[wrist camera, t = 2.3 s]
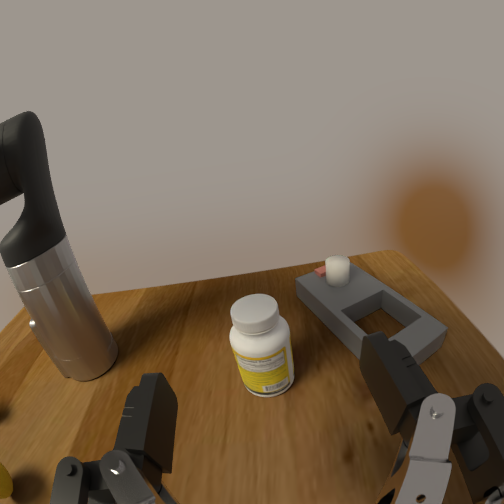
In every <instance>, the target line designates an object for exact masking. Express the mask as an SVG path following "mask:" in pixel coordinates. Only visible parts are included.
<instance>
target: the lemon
mask: <svg viewBox="0 0 504 504" xmlns="http://www.w3.org/2000/svg"><path fill="white" fill-rule="evenodd" d="M12 492H13V482H12V479H11V477H10V474H9V473H8V471H7V470H6V468H5V467H4V466H3V465H2V464H1V463H0V499H3V498H7V497H9V496H10V495H11V494H12Z"/></svg>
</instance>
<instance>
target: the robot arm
mask: <svg viewBox="0 0 504 504" xmlns="http://www.w3.org/2000/svg"><path fill="white" fill-rule="evenodd" d="M23 193H24V198H25V206H24V209H23V212H22V214H21V216H20V218H19V219H18V221H17V223H16V224H15V225H14V227H13V228H12V229H11V230H10V231H9V233H8V234H7V235H6V236H5V237H4V238H3V240H2V241H1V243H0V253H1V256H2V259H3V261H4V263H5V266H6V268H7V270H8V272H9V275H10V277H11V279H12V281H13V284H14V286H15V288H16V290H17V292H18V294H19V296H20V298H21V300H22V302H23V304H24V306H25V307H26V309H27V311H28V313H29V315H30V317H31V318H32V319H31V320H30V323H29V325H30V328H31V329H32V331H33V333H34V334H35V336H36V337H37V339H38V340H39V342H40V344H41V345H42V347H43V348H44V350H45V351H46V353H47V354H48V355H49V357H50V358H51V360H52V361H53V362H54V364H55V365H56V367H57V368H58V369H59V371H60V372H61V373H62V375H63V376H64V377H71V378H73V379H75V380H78V381H87V380H92V379H94V378H97V377H99V376H100V375H102V374H103V373H105V372H106V371H107V370H108V369H109V368H110V367H111V366H112V365H113V363H114V362H115V360H116V358H117V355H118V346H117V344H116V342H115V340H114V338H113V336H112V334H111V333H110V331H109V329H108V328H107V326H106V324H105V322H104V320H103V318H102V316H101V314H100V312H99V310H98V308H97V306H96V304H95V302H94V300H93V298H92V296H91V294H90V292H89V290H88V288H87V285H86V283H85V281H84V278H83V276H82V274H81V272H80V269H79V267H78V264H77V262H76V259H75V257H74V255H73V252H72V249H71V246H70V244H69V241H68V238H67V235H66V232H65V229H64V226H63V223H62V220H61V217H60V213H59V209H58V206H57V202H56V199H55V195H54V191H53V187H52V182H51V177H50V171H49V165H48V159H47V151H46V145H45V138H44V134H43V129H42V126H41V123H40V121H39V119H38V117H37V116H36V115H35V114H34V113H33V112H31V111H27V112H23V113H21V114H18V115H16V116H15V117H12V118H10V119H9V120H6V121H5V122H3V123H1V124H0V205H1V204H3V203H5V202H7V201H9V200H11V199H13V198H15V197H17V196H19V195H21V194H23ZM360 370H361V373H362V375H363V377H364V379H365V381H366V383H367V385H368V387H369V389H370V392H371V394H372V396H373V398H374V400H375V402H376V404H377V406H378V408H379V410H380V412H381V414H382V417H383V419H384V421H385V423H386V425H387V427H388V429H389V432H390V434H391V435H393V434H396V433H398V432H400V434H401V436H402V439H401V442H400V445H399V448H398V451H397V454H396V457H395V460H394V463H393V466H392V469H391V471H390V474H389V476H388V479H387V481H386V483H385V484H384V486H383V488H382V489H381V491H380V493H379V495H378V498H377V500H376V502H375V504H442V501H443V498H444V495H445V491H446V488H447V484H448V481H449V477H450V473H451V467H452V464H451V461H449V460H448V455H449V450H450V446H451V448H452V450H453V453H454V455H455V457H456V460H457V462H458V464H459V467H460V469H461V472H462V474H463V477H464V479H465V482H466V484H467V487H468V490H469V492H470V495H471V498H472V501H473V504H504V396H503V395H502V393H501V392H500V390H499V389H498V388H497V387H496V386H495V385H493V384H490V383H484V384H481V385H480V386H478V387H477V388H476V390H475V391H474V393H473V394H471V395H466V396H462V397H457V398H450V397H449V396H447V395H445V394H441V393H438V392H437V391H436V390H435V389H434V387H433V386H432V384H431V383H430V381H429V380H428V378H427V377H426V375H425V374H424V372H423V371H422V369H421V368H420V366H419V365H418V364H417V362H416V361H415V359H414V358H413V357H412V356H411V353H410V352H409V351H408V349H407V348H406V346H405V345H403V344H401V343H400V342H398V341H397V340H395V339H394V340H392V341H389V340H388V338H387V337H386V335H385V334H384V333H383V332H382V331H379V332H376V333H372V334H369V335H366V336H364V337H363V339H362V347H361V354H360ZM177 410H178V403H177V398H176V395H175V393H174V391H173V390H172V388H171V387H170V385H169V383H168V382H167V380H166V378H165V376H164V375H163V374H162V373H147V374H143V375H142V377H141V381H140V385H139V386H134V387H133V389H132V390H131V392H130V393H129V394H128V396H127V399H126V402H125V408H124V410H123V414H122V415H123V417H121V421H120V425H119V429H118V433H117V438H116V442H115V446H114V449H113V450H112V451H109V452H107V453H106V454H105V455H104V456H103V457H102V459H101V460H98V461H91V462H84V463H82V462H80V461H79V460H78V459H76V458H74V457H65V458H63V459H62V460H61V461H60V462H59V463H58V465H57V469H56V473H55V478H54V483H53V488H52V494H51V500H50V504H87V503H88V504H180V503H179V502H178V501H177V499H176V498H175V497H174V496H173V494H172V493H171V492H170V490H169V489H168V488H167V486H166V485H165V484H164V482H163V481H162V480H161V479H162V473H172V460H173V448H174V438H175V428H176V418H177ZM88 498H89V499H88ZM418 501H419V502H418ZM417 502H418V503H417Z"/></svg>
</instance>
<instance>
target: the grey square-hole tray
mask: <svg viewBox="0 0 504 504" xmlns="http://www.w3.org/2000/svg"><path fill="white" fill-rule="evenodd" d="M295 282H296V293H297V297H298V298H299V299H300V300H301V301H302V302H303V303H304V304H305V305H306V306H307V307H308V308H309V309H310V310H311V311H312V312H313V313H314V314H315V315H316V316H317V317H318V318H319V319H320V320H321V321H322V322H323V323H324V324H325V325H326V326H327V327H328V328H329V329H330V330H331V331H332V332H333V333H334V334H335V335H336V336H337V337H338V338H339V339H340V340H341V341H342V342H343V344H344V345H345V346H346V347H347V348H348V349H349V350H350V351H351V352H352V353H353V354H354V355H355V356H356V357H357V358H358V359H359V360H360V354H361V347H362V339H363V337H364V336H366V335H367V334H366V333H365V332H364V331H363V330H362V329H361V328H359V327H358V326H357V325H356V324H355V323H354V322H355V321H357V320H359V319H361V318H363V317H365V316H367V315H369V314H371V313H373V312H374V311H376V310H378V309H380V308H381V309H383V310H384V311H385V312H387V313H388V314H389V315H391V316H392V317H393V318H395V319H396V320H397V321H398V322H400V323H401V324H402V325H404V326H405V327H406V328H404V329H403V330H401V331H400V332H398V333H397V334H395V335H394V336H392V337H390V338H389V339H388V340H389V341H392V340H394V339H395V340H397V341H398V342H400V343H401V344H403V345H405V346H406V348H407V349H408V351H409V352H410V353H411V356H412V357H413V358H414V359H415V361H416V362H417V364H418V365H420V364H421V363H422V362H424V361H425V360H426V359H427V358H429V357H430V356H431V355H432V354H433V353H435V352H436V351H437V350H438V349H439V348H440V347H441V346H442V343H443V340H444V338H445V335H446V332H447V329H448V327H446V326H445V325H443V324H442V323H441V322H439V321H438V320H436V319H435V318H434V317H432V316H431V315H429V314H428V313H426V312H425V311H424V310H422V309H421V308H419V307H418V306H416V305H415V304H413V303H412V302H410V301H409V300H407V299H406V298H404V297H403V296H401V295H400V294H398V293H397V292H395V291H394V290H392V289H391V288H389V287H388V286H386V285H385V284H383V283H382V282H380V281H379V280H377V279H376V278H374V277H373V276H371V275H369V274H368V273H366V272H365V271H363V270H362V269H360V268H359V267H357V266H355V265H354V264H352V263H351V262H350V260H349V258H347V257H346V256H342V255H334V256H331V257H329V258H327V259H326V265H325V266H322V267H319V268H317V269H315V271H314V272H311V273H309V274H306V275H303V276H300V277H297V278H295Z"/></svg>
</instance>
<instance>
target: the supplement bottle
mask: <svg viewBox="0 0 504 504" xmlns="http://www.w3.org/2000/svg"><path fill="white" fill-rule="evenodd" d="M230 314H231V318H232V322H233V327H232V328H231V331H230V342H231V346H232V349H233V352H234V355H235V358H236V362H237V365H238V368H239V371H240V374H241V377H242V380H243V382H244V385H245V387H246V388H247V389H248V390H249V391H250V392H251V393H253V394H254V395H257V396H261V397H273V396H277V395H279V394H282V393H283V392H285V391H286V390H287V389H288V388H289V387H290V386H291V384H292V383H293V380H294V363H293V354H292V346H291V337H290V330H289V326H288V324H287V322H286V320H285V319H284V318H283V317H281V316H280V315H279V310H278V304H277V302H276V300H275V299H274V298H273V297H271V296H269V295H266V294H252V295H248V296H245V297H243V298H241V299H239V300H237V301H236V302H235V303H234V304H233V305H232V307H231V311H230Z"/></svg>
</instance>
